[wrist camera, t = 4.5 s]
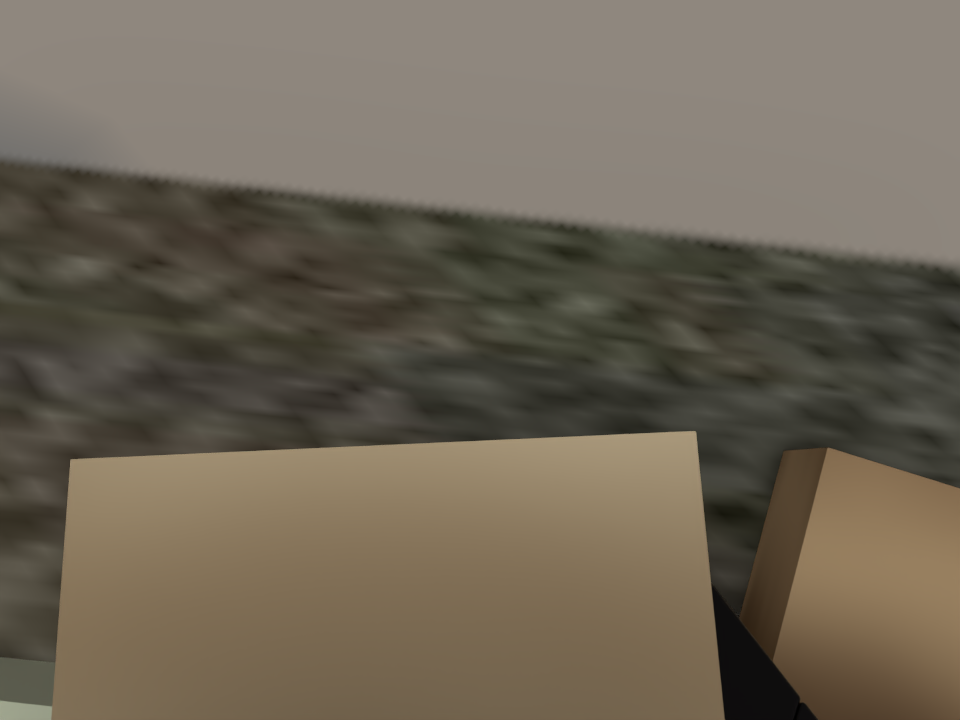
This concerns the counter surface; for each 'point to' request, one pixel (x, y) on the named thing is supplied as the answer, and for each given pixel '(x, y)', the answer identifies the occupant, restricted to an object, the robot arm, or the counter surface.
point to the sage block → (26, 689)
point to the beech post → (391, 584)
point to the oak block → (860, 588)
